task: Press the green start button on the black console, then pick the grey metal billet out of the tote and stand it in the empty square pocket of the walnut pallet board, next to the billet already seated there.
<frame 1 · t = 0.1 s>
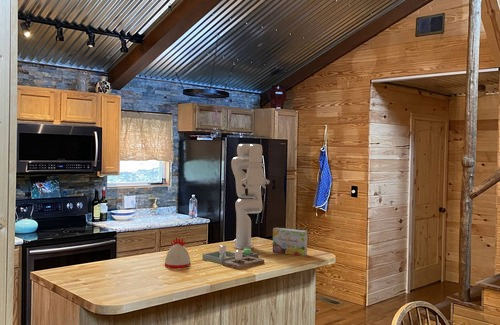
hand: (254, 195, 281), 37 cm above the worktop, tool pointing down, fingers open, 9 cm apart
button console: (247, 258, 282), on the worktop
pallet board: (243, 266, 264), on the worktop
tote: (222, 260, 276), on the worktop
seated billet: (238, 265, 262), point 1 cm above the worktop, touching pallet board
start button: (247, 252, 282), point 3 cm above the worktop, slide at 0.0 cm
kitchen timer: (177, 265, 265), on the worktop
snack box: (289, 254, 297), on the worktop
billet: (222, 259, 276), point 1 cm above the worktop, touching tote
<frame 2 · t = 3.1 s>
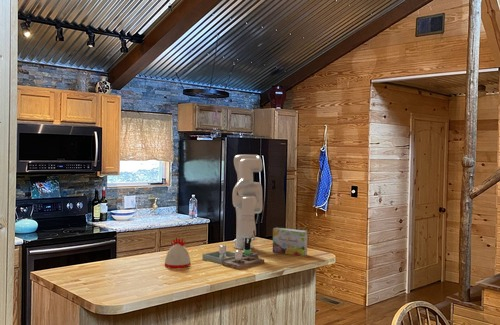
hand: (247, 249, 282), 5 cm above the worktop, tool pointing down, fingers closed
start button: (247, 252, 282), point 3 cm above the worktop, slide at 0.1 cm, touching gripper
everything else where it was.
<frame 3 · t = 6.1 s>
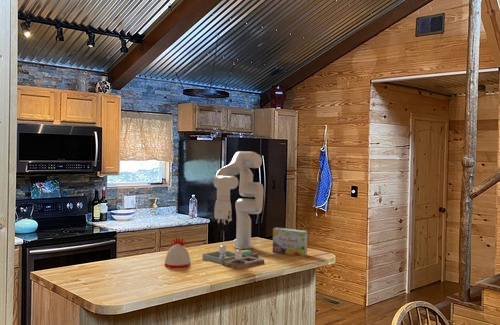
hand: (223, 230, 276), 17 cm above the worktop, tool pointing down, fingers open, 3 cm apart
start button: (247, 254, 282), point 3 cm above the worktop, slide at 0.9 cm
everything else where it was.
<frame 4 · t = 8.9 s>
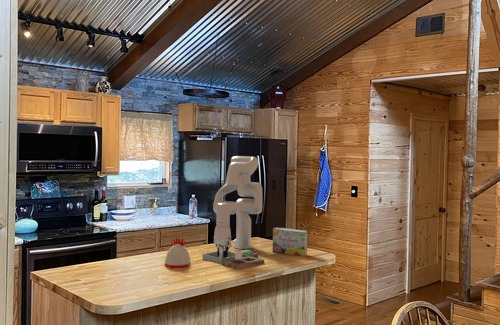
hand: (222, 256, 276), 3 cm above the worktop, tool pointing down, fingers closed on billet, 4 cm apart
billet: (222, 259, 276), point 1 cm above the worktop, touching gripper, tote
everything else where it was.
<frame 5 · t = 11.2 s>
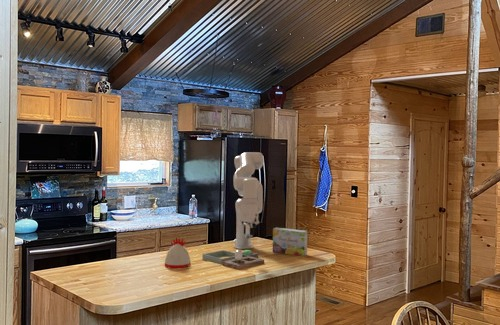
hand: (249, 233, 267), 17 cm above the worktop, tool pointing down, fingers closed on billet, 4 cm apart
billet: (249, 237, 267), point 15 cm above the worktop, touching gripper
everything else where it was.
when the fingers open (4 cm above the worktop, at t = 13.9 s): billet drops 1 cm, resting on pallet board.
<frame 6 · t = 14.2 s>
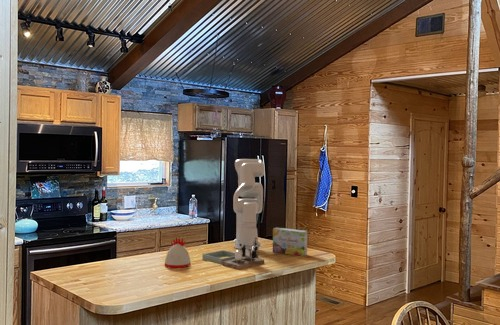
hand: (248, 256, 267), 5 cm above the worktop, tool pointing down, fingers open, 7 cm apart
billet: (248, 263, 267), point 1 cm above the worktop, touching pallet board
everything else where it was.
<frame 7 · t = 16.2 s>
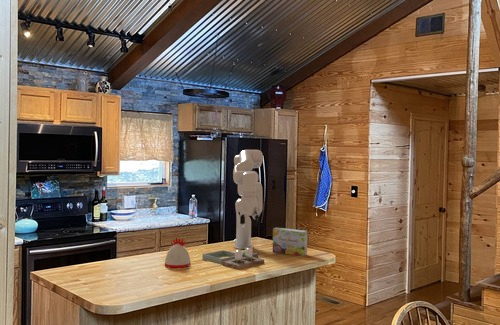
hand: (248, 225, 271), 21 cm above the worktop, tool pointing down, fingers open, 9 cm apart
nothing on the worktop moved.
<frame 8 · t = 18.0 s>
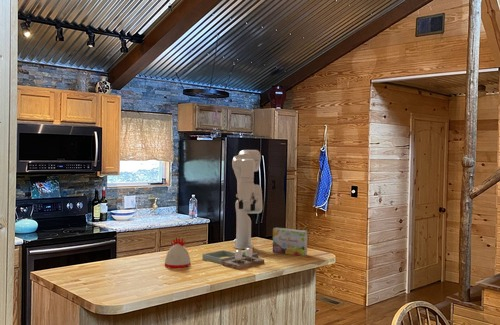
hand: (246, 209, 283), 28 cm above the worktop, tool pointing down, fingers open, 9 cm apart
nothing on the worktop moved.
at the end: billet 0.1 cm from the target spot on the pallet board, point 1.1 cm above the pallet board's base; billet tilted 2°; start button slide at 0.9 cm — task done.
